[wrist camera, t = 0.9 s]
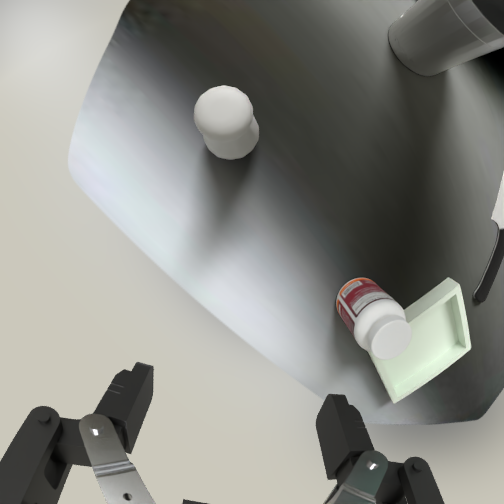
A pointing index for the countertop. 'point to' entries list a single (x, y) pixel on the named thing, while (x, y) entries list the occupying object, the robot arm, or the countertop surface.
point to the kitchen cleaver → (500, 215)
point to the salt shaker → (226, 122)
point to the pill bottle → (373, 318)
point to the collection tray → (428, 341)
